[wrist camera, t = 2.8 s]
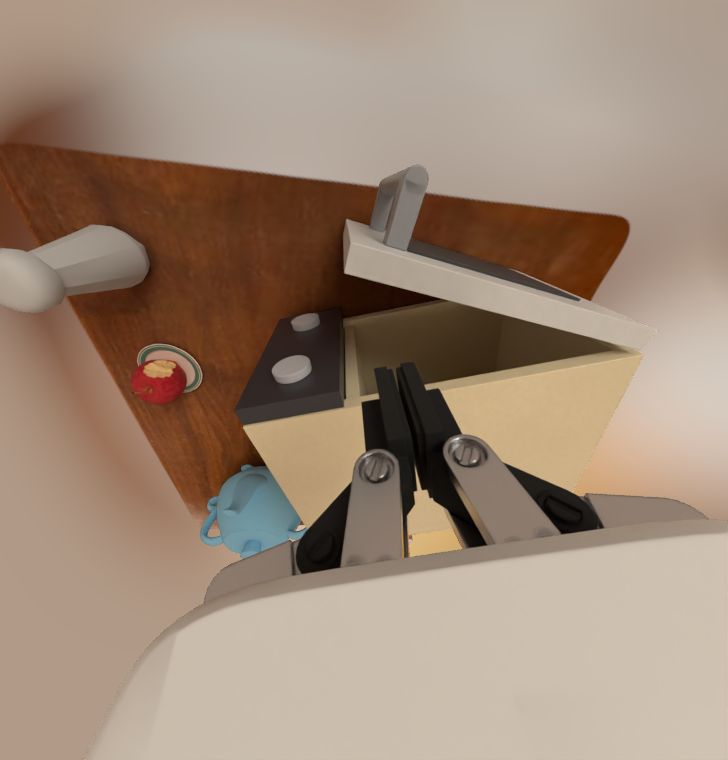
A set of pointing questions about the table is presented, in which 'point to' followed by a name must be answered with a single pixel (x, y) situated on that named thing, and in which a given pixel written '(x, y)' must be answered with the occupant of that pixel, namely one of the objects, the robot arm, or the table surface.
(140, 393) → the apple
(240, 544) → the teapot
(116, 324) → the table surface
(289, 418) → the microwave
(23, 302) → the salt shaker
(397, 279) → the microwave door
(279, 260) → the table surface
